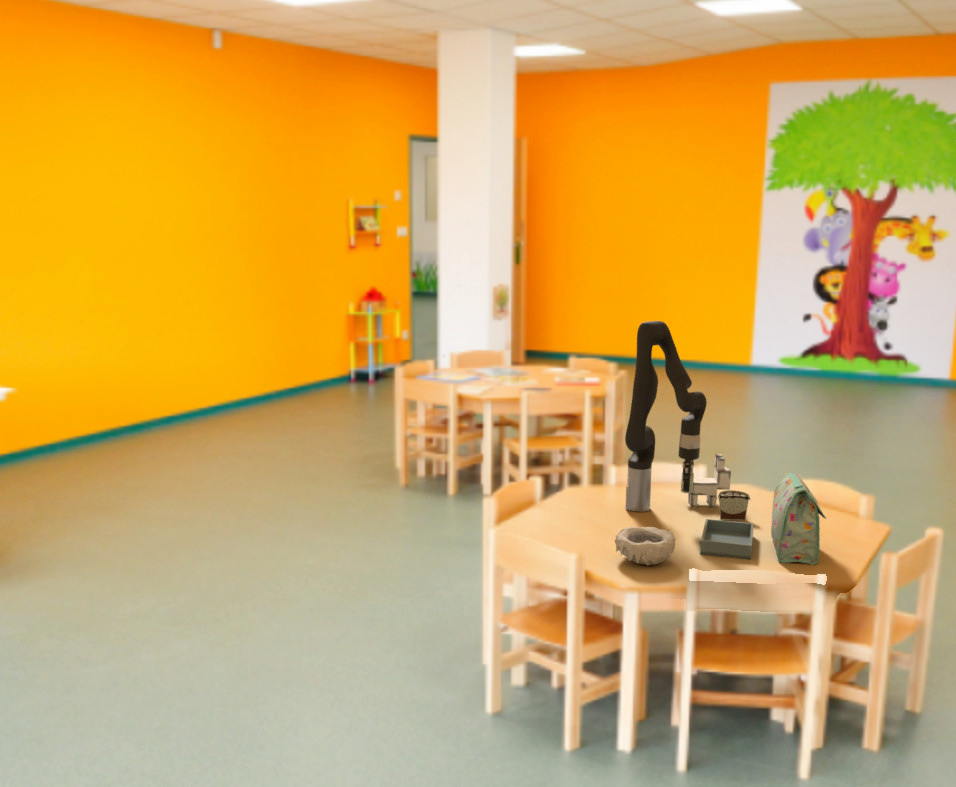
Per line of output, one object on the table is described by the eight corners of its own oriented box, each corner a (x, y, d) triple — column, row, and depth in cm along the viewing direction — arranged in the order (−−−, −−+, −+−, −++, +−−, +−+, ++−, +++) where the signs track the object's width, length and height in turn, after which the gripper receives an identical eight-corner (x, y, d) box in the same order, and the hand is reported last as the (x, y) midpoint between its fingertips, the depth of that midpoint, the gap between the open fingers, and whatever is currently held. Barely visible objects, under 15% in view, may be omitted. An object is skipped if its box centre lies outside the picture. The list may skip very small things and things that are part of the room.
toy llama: (681, 501, 406) (683, 453, 402) (725, 501, 405) (727, 454, 401) (684, 507, 399) (686, 458, 395) (728, 507, 398) (731, 459, 394)
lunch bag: (824, 566, 337) (830, 490, 331) (773, 563, 340) (778, 487, 334) (814, 543, 359) (819, 470, 354) (766, 540, 362) (771, 468, 356)
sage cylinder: (680, 492, 372) (681, 474, 371) (681, 489, 376) (682, 471, 375) (692, 493, 371) (693, 475, 369) (693, 490, 375) (694, 472, 374)
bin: (700, 554, 348) (700, 540, 347) (705, 531, 371) (705, 518, 369) (750, 559, 343) (751, 545, 342) (752, 536, 366) (753, 523, 365)
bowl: (682, 571, 332) (684, 543, 330) (622, 573, 331) (623, 544, 329) (666, 549, 353) (667, 522, 351) (609, 551, 351) (610, 523, 349)
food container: (746, 515, 389) (748, 490, 387) (749, 520, 383) (750, 495, 381) (714, 514, 390) (715, 489, 388) (716, 519, 384) (717, 494, 382)
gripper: (681, 439, 377) (678, 482, 381) (677, 449, 364) (674, 494, 368) (701, 441, 375) (698, 484, 379) (698, 451, 362) (695, 496, 366)
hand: (686, 489), depth 373 cm, fingers closed on sage cylinder, 4 cm apart
